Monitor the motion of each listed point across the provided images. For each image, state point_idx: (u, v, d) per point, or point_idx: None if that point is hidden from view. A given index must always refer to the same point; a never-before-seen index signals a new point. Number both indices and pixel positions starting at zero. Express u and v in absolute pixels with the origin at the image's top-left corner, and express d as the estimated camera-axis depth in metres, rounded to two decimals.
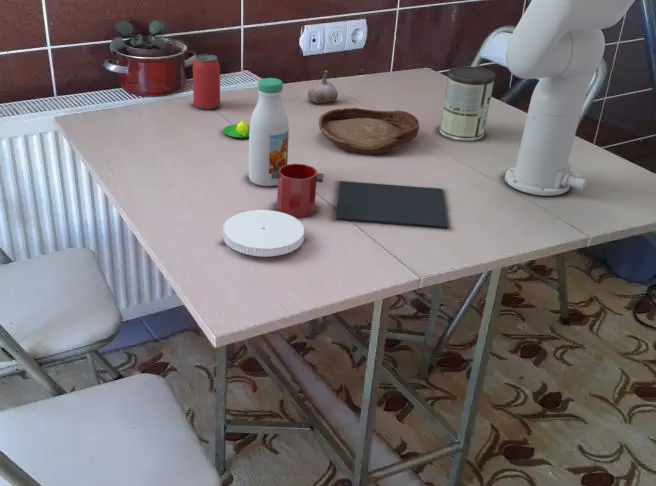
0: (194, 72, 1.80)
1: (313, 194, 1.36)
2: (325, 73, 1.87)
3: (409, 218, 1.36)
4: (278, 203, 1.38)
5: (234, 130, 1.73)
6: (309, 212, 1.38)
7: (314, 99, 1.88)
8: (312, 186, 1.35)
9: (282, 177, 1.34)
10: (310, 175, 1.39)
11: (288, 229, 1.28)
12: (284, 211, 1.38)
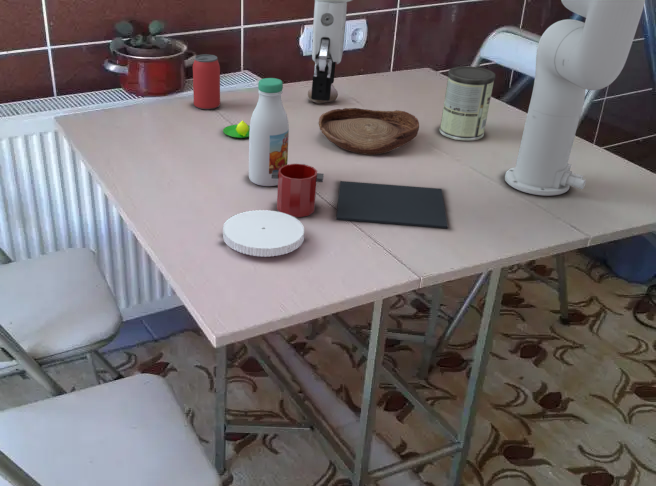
0: (194, 72, 1.80)
1: (313, 194, 1.36)
2: None
3: (409, 218, 1.36)
4: (278, 203, 1.38)
5: (234, 130, 1.73)
6: (309, 212, 1.38)
7: None
8: (312, 186, 1.35)
9: (282, 177, 1.34)
10: (310, 175, 1.39)
11: (288, 229, 1.28)
12: (284, 211, 1.38)
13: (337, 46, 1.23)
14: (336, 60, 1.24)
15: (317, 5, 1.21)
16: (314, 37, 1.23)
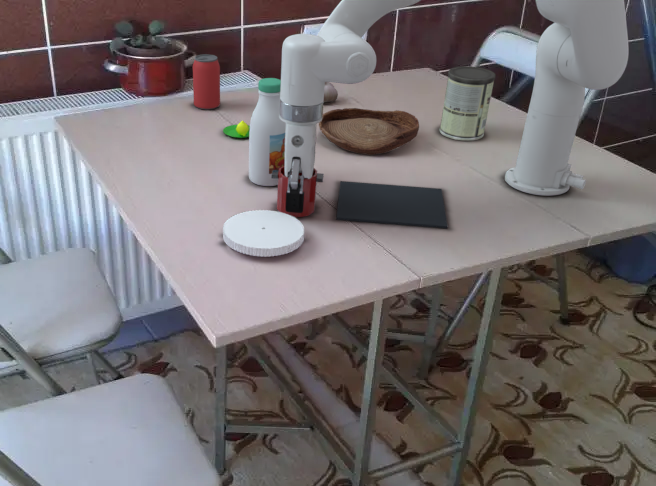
0: (194, 72, 1.80)
1: (313, 194, 1.36)
2: None
3: (409, 218, 1.36)
4: (278, 203, 1.38)
5: (234, 130, 1.73)
6: (309, 212, 1.38)
7: None
8: (312, 186, 1.35)
9: (282, 177, 1.34)
10: None
11: (288, 229, 1.28)
12: (284, 211, 1.38)
13: (308, 164, 1.30)
14: (307, 176, 1.31)
15: (288, 128, 1.28)
16: (286, 156, 1.30)
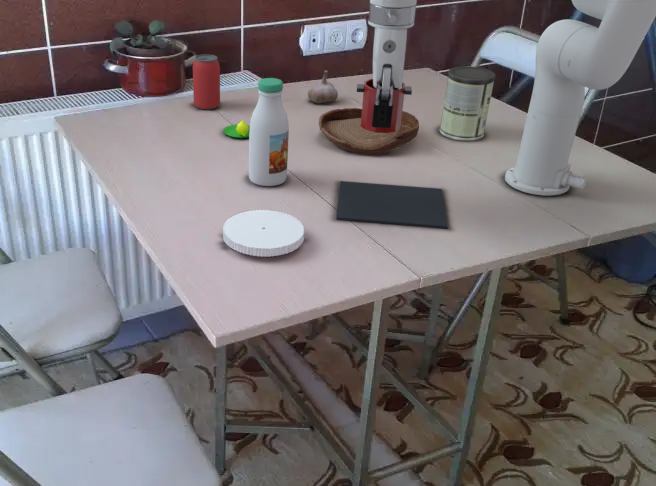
0: (194, 72, 1.80)
1: (401, 108, 1.29)
2: (325, 73, 1.87)
3: (409, 218, 1.36)
4: (363, 119, 1.31)
5: (234, 130, 1.73)
6: (396, 128, 1.31)
7: (314, 99, 1.88)
8: (400, 99, 1.28)
9: (369, 89, 1.27)
10: (396, 89, 1.31)
11: (288, 229, 1.28)
12: (369, 127, 1.31)
13: (399, 72, 1.23)
14: (398, 86, 1.24)
15: (379, 32, 1.21)
16: (376, 64, 1.23)
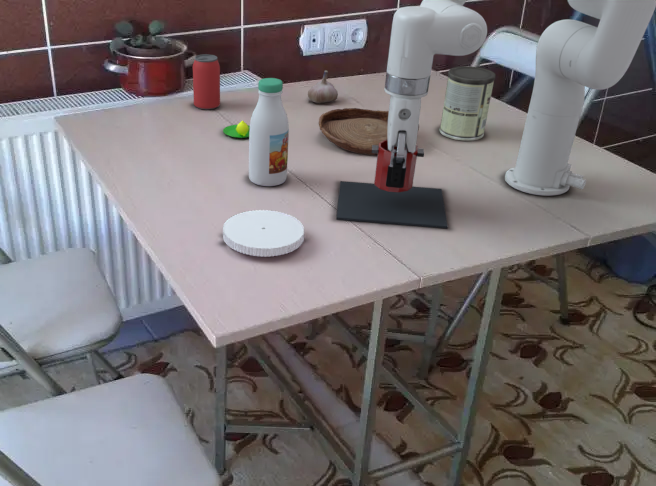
0: (194, 72, 1.80)
1: (413, 169, 1.36)
2: (325, 73, 1.87)
3: (409, 218, 1.36)
4: (376, 178, 1.38)
5: (234, 130, 1.73)
6: (408, 187, 1.37)
7: (314, 99, 1.88)
8: (413, 161, 1.35)
9: (384, 151, 1.34)
10: None
11: (288, 229, 1.28)
12: (383, 186, 1.37)
13: (413, 138, 1.29)
14: (412, 150, 1.31)
15: (395, 101, 1.27)
16: (391, 130, 1.29)
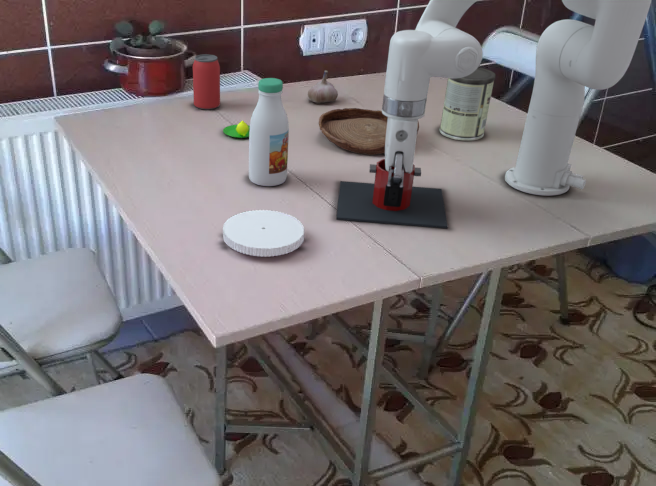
0: (194, 72, 1.80)
1: (410, 188, 1.38)
2: (325, 73, 1.87)
3: (409, 218, 1.36)
4: (374, 197, 1.40)
5: (234, 130, 1.73)
6: (406, 206, 1.39)
7: (314, 99, 1.88)
8: (410, 180, 1.37)
9: (381, 171, 1.36)
10: None
11: (288, 229, 1.28)
12: (381, 205, 1.39)
13: (410, 159, 1.32)
14: (409, 171, 1.33)
15: (392, 122, 1.29)
16: (388, 151, 1.32)
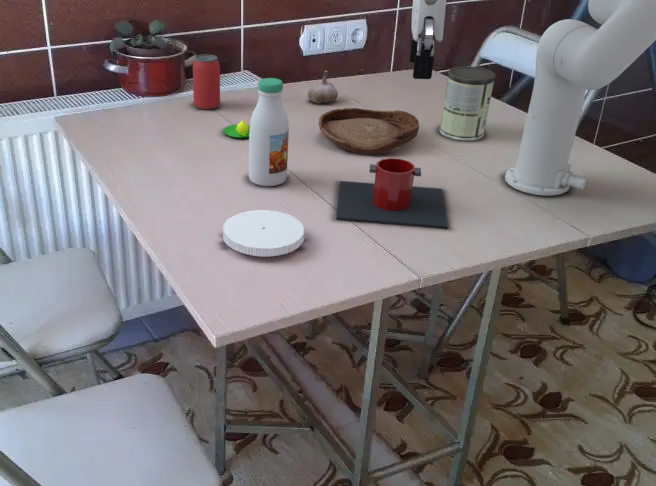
0: (194, 72, 1.80)
1: (410, 188, 1.38)
2: (325, 73, 1.87)
3: (409, 218, 1.36)
4: (374, 197, 1.40)
5: (234, 130, 1.73)
6: (405, 206, 1.39)
7: (314, 99, 1.88)
8: (410, 180, 1.37)
9: (381, 171, 1.36)
10: (406, 169, 1.40)
11: (288, 229, 1.28)
12: (381, 205, 1.39)
13: (440, 24, 1.26)
14: (439, 38, 1.27)
15: None
16: (417, 17, 1.25)
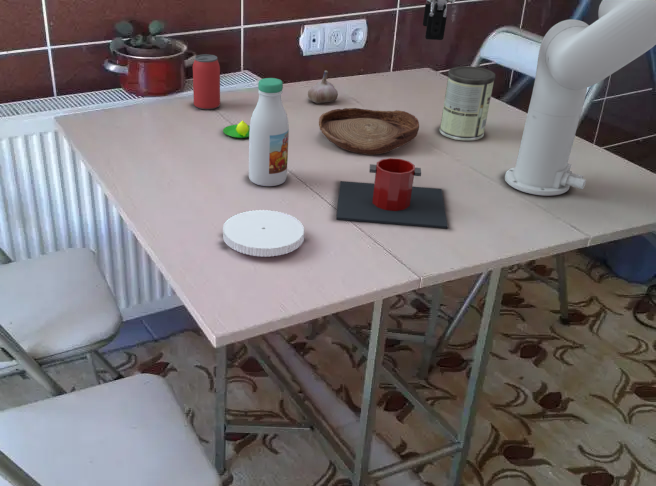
0: (194, 72, 1.80)
1: (410, 188, 1.38)
2: (325, 73, 1.87)
3: (409, 218, 1.36)
4: (374, 197, 1.40)
5: (234, 130, 1.73)
6: (405, 206, 1.39)
7: (314, 99, 1.88)
8: (410, 180, 1.37)
9: (381, 171, 1.36)
10: (406, 169, 1.40)
11: (288, 229, 1.28)
12: (381, 205, 1.39)
13: None
14: None
15: None
16: None
